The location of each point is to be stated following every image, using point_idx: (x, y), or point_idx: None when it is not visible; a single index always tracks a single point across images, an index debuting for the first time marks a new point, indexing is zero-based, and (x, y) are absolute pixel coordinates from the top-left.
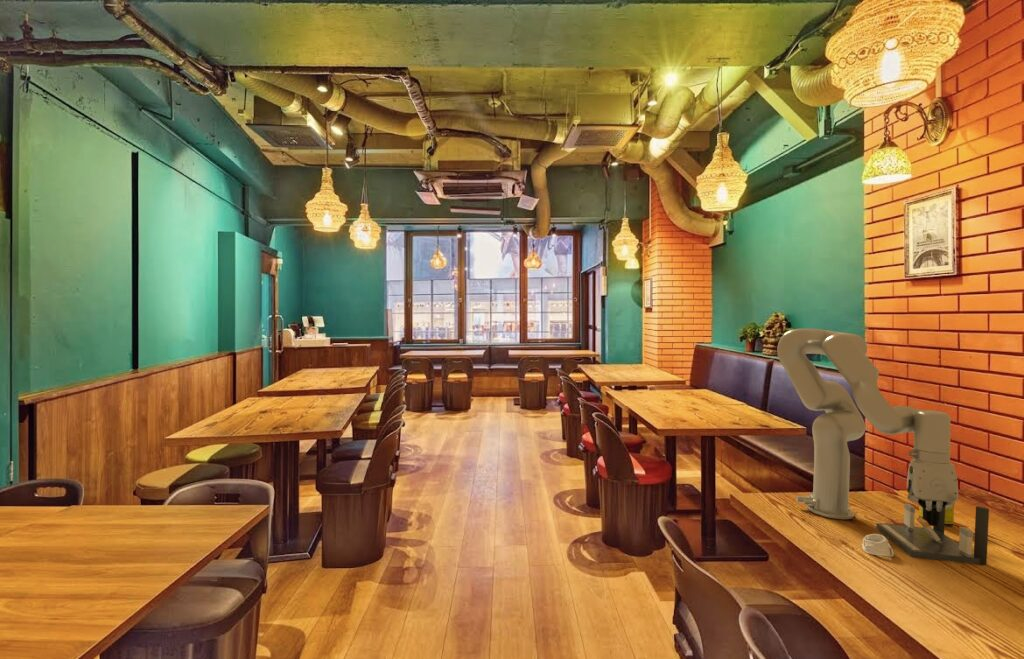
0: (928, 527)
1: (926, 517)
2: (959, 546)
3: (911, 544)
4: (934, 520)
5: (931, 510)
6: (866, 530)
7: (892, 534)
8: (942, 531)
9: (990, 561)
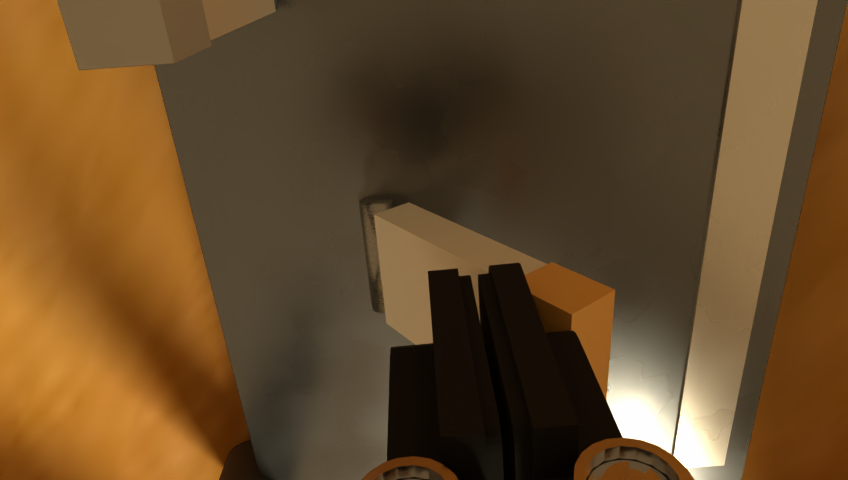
0: (525, 271)
1: (587, 364)
2: (265, 5)
3: (754, 33)
4: (476, 321)
5: (539, 477)
6: (845, 381)
7: (773, 270)
8: (235, 477)
9: (5, 7)
